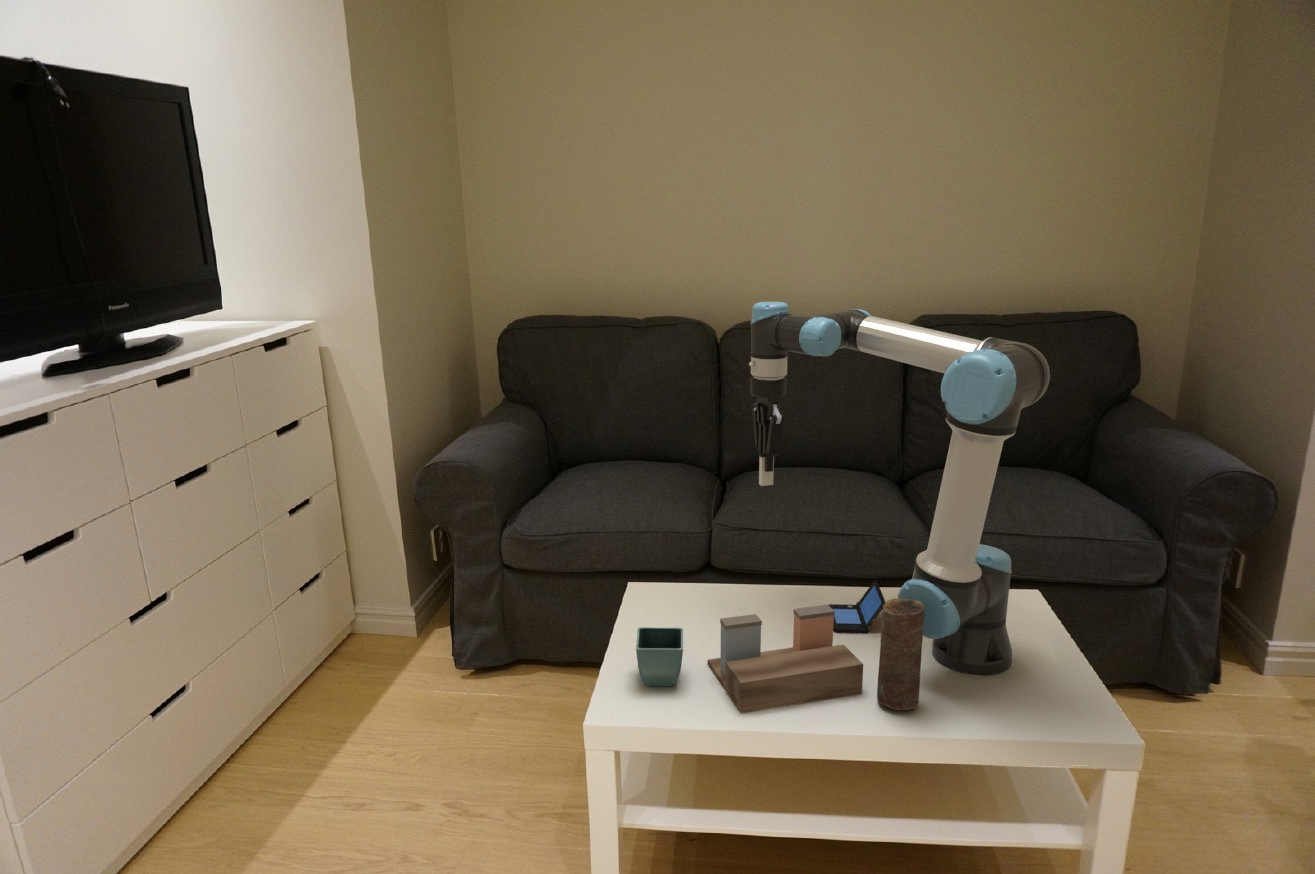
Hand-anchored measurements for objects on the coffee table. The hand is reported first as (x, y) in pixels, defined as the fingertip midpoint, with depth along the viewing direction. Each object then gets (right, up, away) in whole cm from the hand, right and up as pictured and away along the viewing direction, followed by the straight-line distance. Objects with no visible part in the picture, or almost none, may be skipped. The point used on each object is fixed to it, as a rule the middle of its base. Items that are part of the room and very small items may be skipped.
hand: (766, 484), depth 198 cm
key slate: (-8, -35, -21) cm, 41 cm away
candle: (+20, -39, -31) cm, 54 cm away
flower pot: (-23, -37, -22) cm, 48 cm away
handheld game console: (+20, -30, +2) cm, 36 cm away
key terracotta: (+7, -34, -18) cm, 39 cm away
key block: (0, -36, -22) cm, 42 cm away
